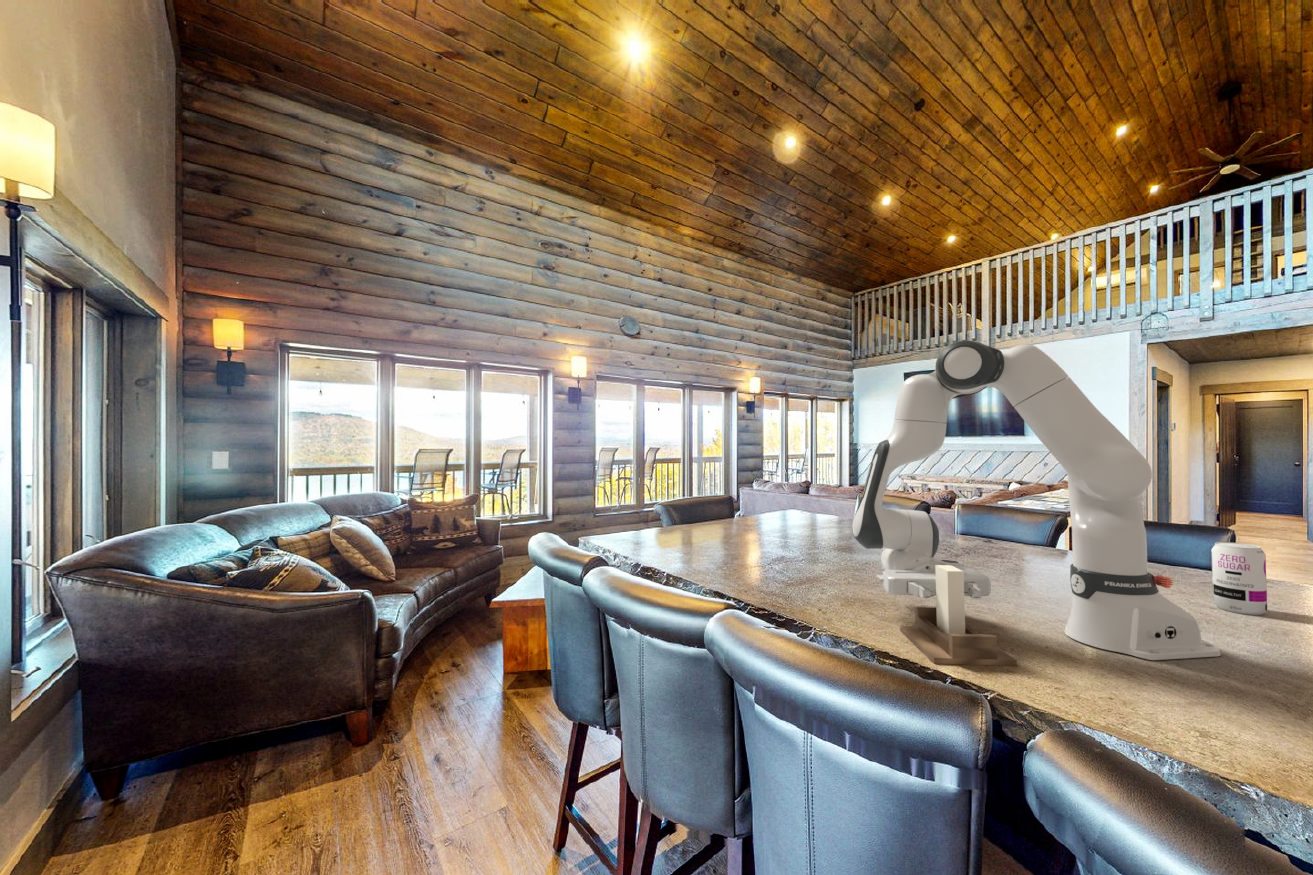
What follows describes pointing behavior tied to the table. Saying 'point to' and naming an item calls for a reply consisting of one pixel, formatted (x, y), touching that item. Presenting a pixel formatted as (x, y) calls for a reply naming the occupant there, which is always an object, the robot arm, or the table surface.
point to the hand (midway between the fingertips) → (951, 594)
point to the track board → (954, 643)
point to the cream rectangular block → (950, 599)
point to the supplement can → (1239, 578)
